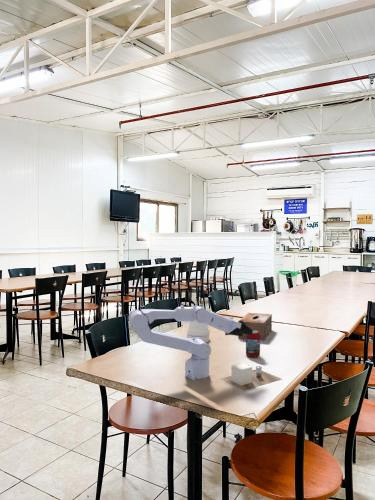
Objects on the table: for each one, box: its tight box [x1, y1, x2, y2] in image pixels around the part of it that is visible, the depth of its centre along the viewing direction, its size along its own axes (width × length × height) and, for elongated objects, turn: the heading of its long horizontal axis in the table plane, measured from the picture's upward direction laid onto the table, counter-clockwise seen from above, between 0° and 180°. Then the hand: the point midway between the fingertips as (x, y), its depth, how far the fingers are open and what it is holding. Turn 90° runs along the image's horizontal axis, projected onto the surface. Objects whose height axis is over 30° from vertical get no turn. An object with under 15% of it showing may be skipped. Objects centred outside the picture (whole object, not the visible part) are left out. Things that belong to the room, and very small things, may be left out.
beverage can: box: [245, 330, 261, 358], centre depth 187 cm, size 7×7×12 cm
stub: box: [255, 365, 263, 378], centre depth 156 cm, size 2×2×4 cm
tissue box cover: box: [237, 312, 273, 342], centre depth 229 cm, size 26×14×10 cm, turn 158°
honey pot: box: [186, 320, 211, 343], centre depth 217 cm, size 13×13×18 cm
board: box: [220, 369, 282, 391], centre depth 154 cm, size 20×14×2 cm
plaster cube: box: [231, 362, 253, 385], centre depth 151 cm, size 6×6×6 cm
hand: (247, 333), depth 163 cm, fingers open, 7 cm apart
